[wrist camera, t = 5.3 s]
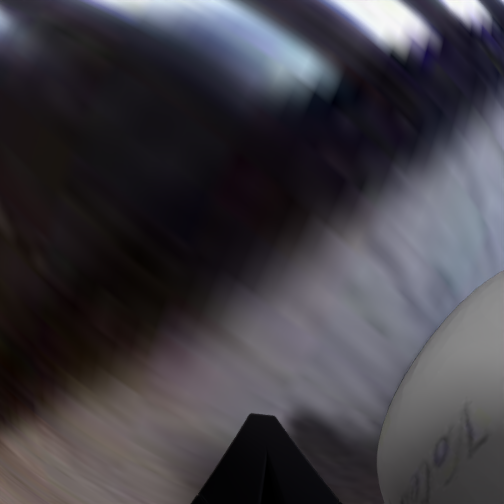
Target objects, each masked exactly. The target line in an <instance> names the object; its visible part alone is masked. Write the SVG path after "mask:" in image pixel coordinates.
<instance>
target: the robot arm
mask: <svg viewBox="0 0 504 504" xmlns="http://www.w3.org/2000/svg"><path fill="white" fill-rule="evenodd" d="M191 504H342V503H341V502H339V499H338V498H337V497H336V496H335V494H334V493H333V492H332V491H331V490H330V488H329V487H328V486H327V485H326V483H325V482H324V481H323V480H322V478H321V477H320V476H319V474H318V473H317V472H316V471H315V469H314V468H313V467H312V465H311V464H310V463H309V462H308V460H307V459H306V458H305V456H304V455H303V454H302V452H301V451H300V450H299V448H298V447H297V446H296V444H295V443H294V442H293V440H292V439H291V438H290V436H289V435H288V433H287V432H286V431H285V429H284V428H283V427H282V425H281V424H280V422H279V421H278V420H277V418H276V417H275V416H272V415H263V414H254V413H251V414H249V416H248V417H247V419H246V421H245V422H244V424H243V425H242V427H241V429H240V430H239V432H238V434H237V435H236V437H235V438H234V440H233V442H232V443H231V445H230V446H229V448H228V449H227V451H226V453H225V454H224V456H223V457H222V459H221V460H220V462H219V463H218V465H217V466H216V468H215V469H214V471H213V472H212V474H211V475H210V477H209V478H208V480H207V481H206V483H205V484H204V486H203V487H202V489H201V490H200V492H199V493H198V495H197V496H196V497H195V498H194V500H193V501H192V503H191Z"/></svg>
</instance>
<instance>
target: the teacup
mask: <svg viewBox="0 0 504 504" xmlns="http://www.w3.org/2000/svg"><path fill="white" fill-rule="evenodd" d="M377 474H378V480H379V486H380V490H381V494H382V497H383V501H384V504H504V271H501V272H500V273H498V274H497V275H495V276H494V277H492V278H491V279H489V280H487V281H486V282H485V283H483V284H482V285H481V286H479V287H478V288H477V289H476V290H474V291H473V292H472V293H471V294H470V295H469V296H468V297H467V298H466V299H465V300H463V301H462V302H461V303H460V304H459V305H458V306H457V307H456V308H455V309H454V310H453V312H452V313H451V314H450V315H449V316H448V317H447V318H446V319H445V321H444V322H443V323H442V324H441V325H440V327H439V328H438V329H437V330H436V331H435V332H434V334H433V335H432V336H431V338H430V339H429V340H428V342H427V343H426V344H425V346H424V347H423V349H422V350H421V352H420V353H419V355H418V356H417V357H416V359H415V360H414V362H413V364H412V365H411V367H410V369H409V370H408V372H407V374H406V375H405V377H404V378H403V380H402V382H401V384H400V386H399V388H398V390H397V392H396V394H395V396H394V398H393V400H392V402H391V404H390V407H389V409H388V412H387V415H386V418H385V420H384V423H383V427H382V431H381V434H380V438H379V444H378V450H377Z"/></svg>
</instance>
